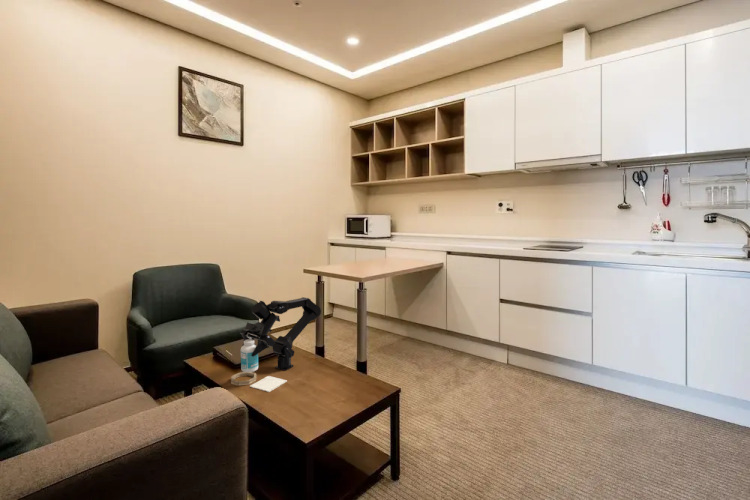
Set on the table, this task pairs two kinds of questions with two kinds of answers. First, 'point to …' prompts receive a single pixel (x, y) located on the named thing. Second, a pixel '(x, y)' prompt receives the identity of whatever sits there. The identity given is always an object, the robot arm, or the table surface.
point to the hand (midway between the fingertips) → (246, 354)
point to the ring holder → (243, 381)
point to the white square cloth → (268, 383)
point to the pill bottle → (248, 356)
